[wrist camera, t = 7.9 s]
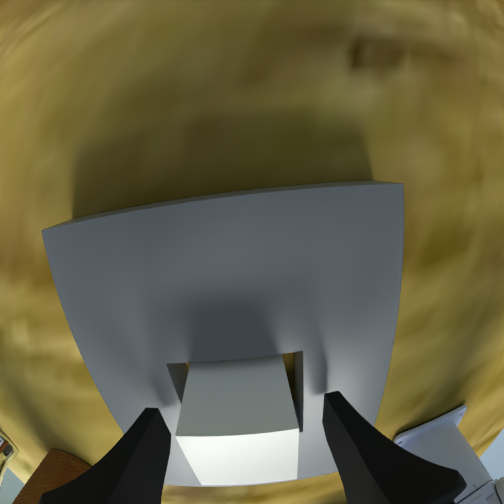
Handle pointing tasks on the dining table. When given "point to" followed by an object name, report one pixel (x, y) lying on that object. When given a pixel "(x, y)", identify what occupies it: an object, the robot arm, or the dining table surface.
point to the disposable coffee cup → (51, 475)
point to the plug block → (239, 422)
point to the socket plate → (237, 298)
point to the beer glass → (6, 454)
